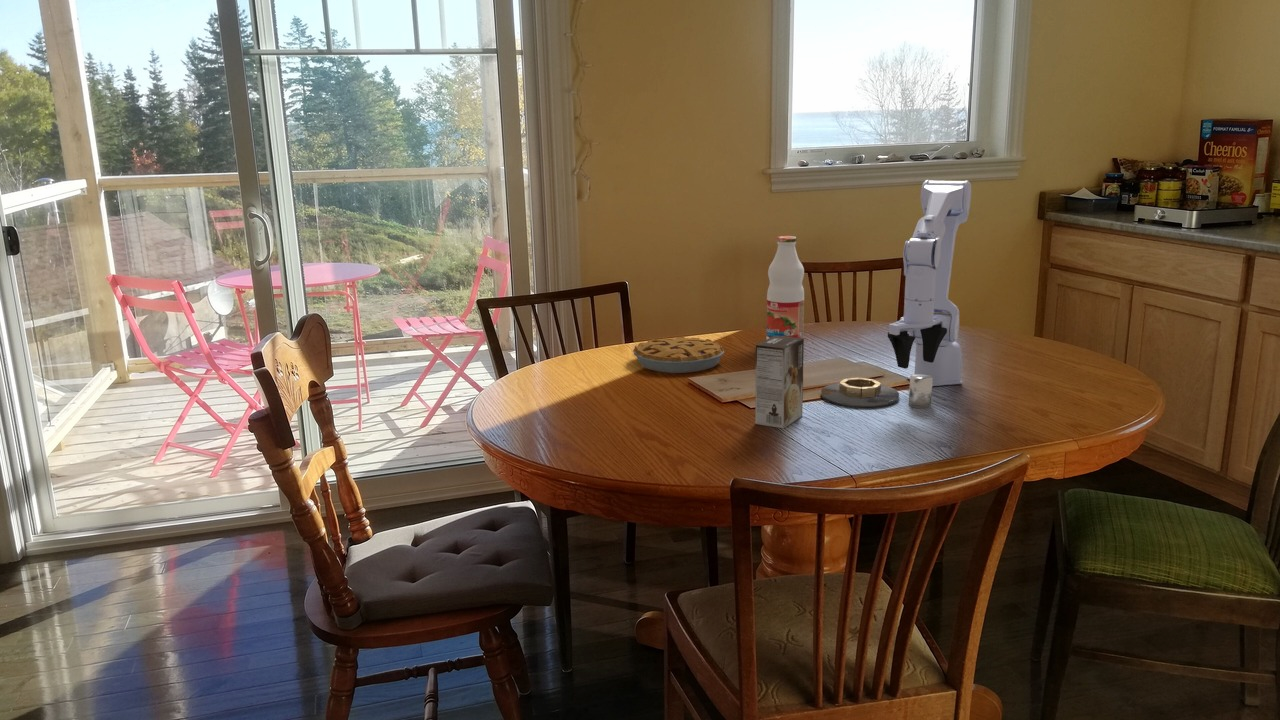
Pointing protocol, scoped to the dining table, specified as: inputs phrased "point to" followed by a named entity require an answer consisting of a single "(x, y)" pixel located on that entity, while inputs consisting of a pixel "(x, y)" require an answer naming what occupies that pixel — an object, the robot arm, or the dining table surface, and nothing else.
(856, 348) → the dining table surface
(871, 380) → the ring collar
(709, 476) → the dining table surface
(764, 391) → the coffee box
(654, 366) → the pie
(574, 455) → the dining table surface
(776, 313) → the fruit juice
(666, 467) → the dining table surface
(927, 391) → the piston
